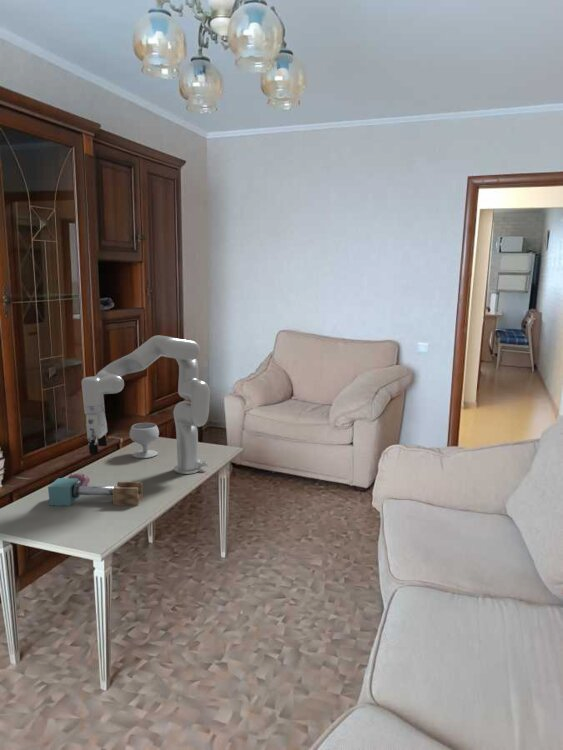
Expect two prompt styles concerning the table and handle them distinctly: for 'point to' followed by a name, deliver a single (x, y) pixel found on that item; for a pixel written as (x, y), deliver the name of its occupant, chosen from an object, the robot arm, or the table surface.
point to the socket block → (62, 491)
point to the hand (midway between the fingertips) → (98, 450)
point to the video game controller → (81, 478)
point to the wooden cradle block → (127, 493)
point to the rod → (91, 490)
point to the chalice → (144, 438)
